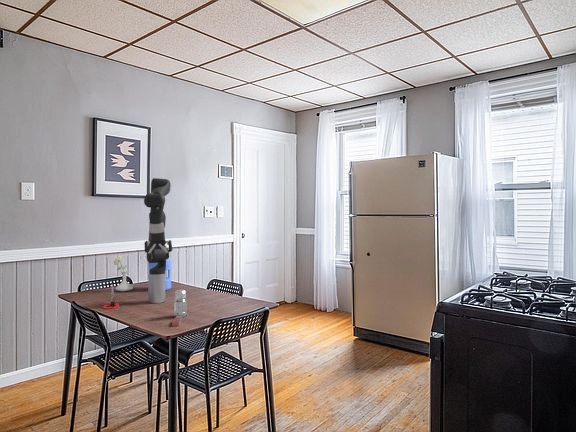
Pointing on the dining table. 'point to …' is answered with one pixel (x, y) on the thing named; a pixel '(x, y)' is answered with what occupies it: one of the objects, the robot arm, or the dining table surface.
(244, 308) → the dining table surface
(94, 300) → the dining table surface
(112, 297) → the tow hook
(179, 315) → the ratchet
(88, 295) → the dining table surface
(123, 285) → the flower in vase
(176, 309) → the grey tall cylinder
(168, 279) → the water jug
